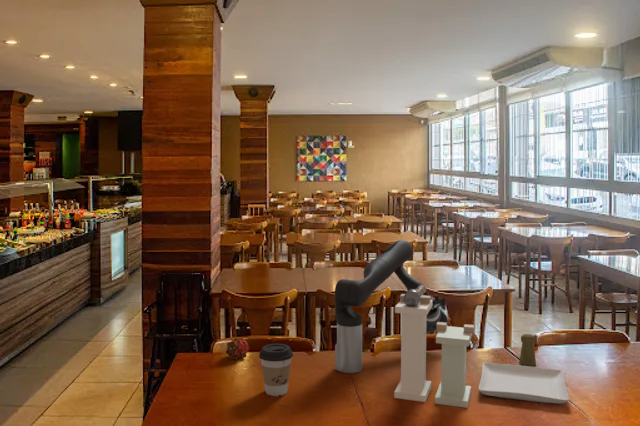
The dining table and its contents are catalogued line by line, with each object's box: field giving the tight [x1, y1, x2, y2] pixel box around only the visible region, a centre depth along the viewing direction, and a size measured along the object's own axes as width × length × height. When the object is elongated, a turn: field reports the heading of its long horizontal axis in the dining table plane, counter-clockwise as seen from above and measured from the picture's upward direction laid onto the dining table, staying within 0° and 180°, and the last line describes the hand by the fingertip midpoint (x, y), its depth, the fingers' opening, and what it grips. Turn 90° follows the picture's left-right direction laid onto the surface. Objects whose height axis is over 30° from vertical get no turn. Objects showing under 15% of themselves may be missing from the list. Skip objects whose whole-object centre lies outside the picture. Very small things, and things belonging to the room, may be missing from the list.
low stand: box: [434, 322, 475, 409], centre depth 182 cm, size 12×13×24 cm
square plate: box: [478, 362, 570, 405], centre depth 190 cm, size 27×27×4 cm
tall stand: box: [393, 293, 433, 403], centre depth 185 cm, size 10×13×32 cm
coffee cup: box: [258, 343, 294, 397], centre depth 187 cm, size 11×11×15 cm
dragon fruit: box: [225, 337, 250, 360], centre depth 221 cm, size 8×8×12 cm
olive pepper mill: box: [518, 333, 537, 367], centre depth 213 cm, size 6×6×11 cm
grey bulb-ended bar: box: [403, 284, 427, 307], centre depth 189 cm, size 20×5×5 cm, turn 160°
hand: (423, 296), depth 203 cm, fingers open, 8 cm apart
